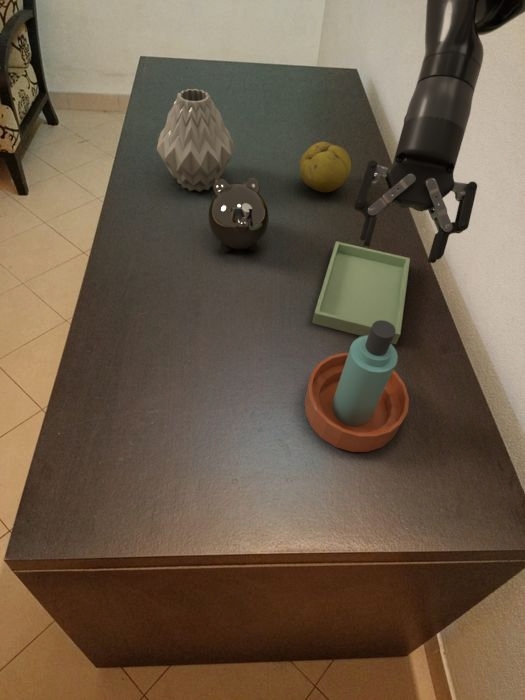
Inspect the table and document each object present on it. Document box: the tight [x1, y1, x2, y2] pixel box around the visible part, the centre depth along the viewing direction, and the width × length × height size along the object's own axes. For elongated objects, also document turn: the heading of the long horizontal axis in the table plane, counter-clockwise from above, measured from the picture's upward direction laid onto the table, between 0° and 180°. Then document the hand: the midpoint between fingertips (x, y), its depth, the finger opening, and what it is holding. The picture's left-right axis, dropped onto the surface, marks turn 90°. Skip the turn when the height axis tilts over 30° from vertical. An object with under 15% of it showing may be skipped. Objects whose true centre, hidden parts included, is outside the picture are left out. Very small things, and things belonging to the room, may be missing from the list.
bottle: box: [332, 320, 399, 426], centre depth 62 cm, size 6×6×18 cm
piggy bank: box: [208, 177, 270, 253], centre depth 88 cm, size 11×15×12 cm
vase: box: [156, 88, 236, 192], centre depth 98 cm, size 16×16×18 cm
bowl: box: [303, 352, 410, 453], centre depth 67 cm, size 14×14×5 cm
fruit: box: [299, 141, 352, 193], centre depth 103 cm, size 11×12×10 cm
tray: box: [311, 240, 411, 345], centre depth 84 cm, size 14×20×3 cm
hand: (398, 254), depth 61 cm, fingers open, 8 cm apart
